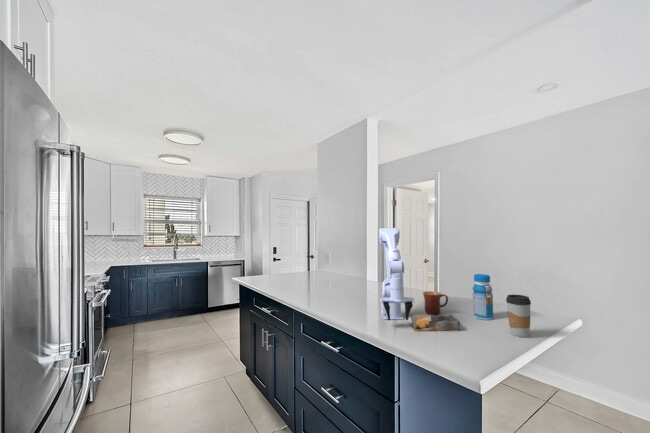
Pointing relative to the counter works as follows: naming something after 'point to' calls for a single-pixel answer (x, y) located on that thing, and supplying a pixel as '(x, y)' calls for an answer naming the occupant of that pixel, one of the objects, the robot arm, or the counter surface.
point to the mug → (433, 302)
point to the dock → (440, 324)
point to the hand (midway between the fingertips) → (397, 319)
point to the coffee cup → (519, 315)
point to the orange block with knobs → (419, 321)
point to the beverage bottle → (483, 297)
